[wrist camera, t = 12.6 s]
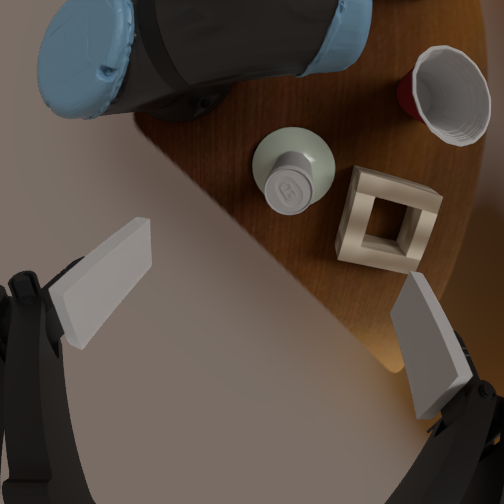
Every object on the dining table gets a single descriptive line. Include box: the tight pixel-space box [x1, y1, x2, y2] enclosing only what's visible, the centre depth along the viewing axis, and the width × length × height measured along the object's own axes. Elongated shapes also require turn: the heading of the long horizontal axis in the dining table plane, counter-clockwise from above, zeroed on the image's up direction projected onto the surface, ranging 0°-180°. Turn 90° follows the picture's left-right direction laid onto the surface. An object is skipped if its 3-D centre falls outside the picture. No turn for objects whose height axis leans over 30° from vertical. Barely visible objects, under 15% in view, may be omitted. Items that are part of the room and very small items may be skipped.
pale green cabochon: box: [252, 127, 335, 204], centre depth 36 cm, size 11×11×1 cm
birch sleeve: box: [334, 165, 443, 274], centre depth 35 cm, size 12×12×5 cm
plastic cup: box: [397, 45, 491, 146], centre depth 23 cm, size 11×11×12 cm
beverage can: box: [264, 151, 315, 215], centre depth 30 cm, size 5×5×12 cm
